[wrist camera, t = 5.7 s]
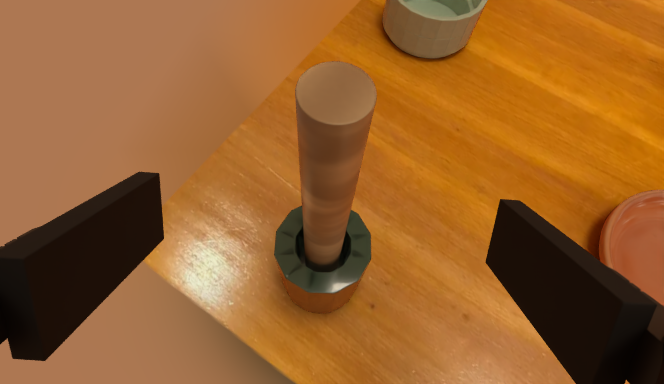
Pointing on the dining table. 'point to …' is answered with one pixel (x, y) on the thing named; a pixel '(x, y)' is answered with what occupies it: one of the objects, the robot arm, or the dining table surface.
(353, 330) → the dining table surface
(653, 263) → the saucer
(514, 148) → the dining table surface
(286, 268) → the holder
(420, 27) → the bowl
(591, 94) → the dining table surface
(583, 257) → the robot arm
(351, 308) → the dining table surface
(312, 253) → the stick
